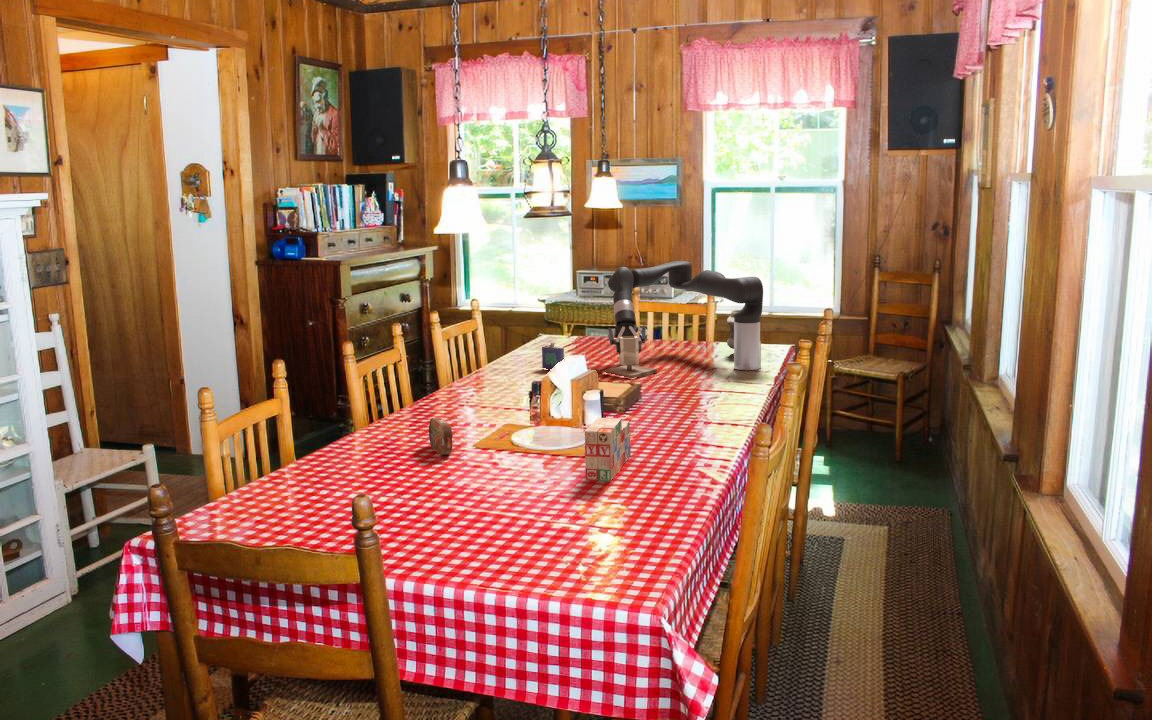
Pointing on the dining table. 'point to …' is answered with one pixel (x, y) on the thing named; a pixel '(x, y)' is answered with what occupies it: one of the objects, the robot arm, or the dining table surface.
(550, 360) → the flask
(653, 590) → the dining table surface
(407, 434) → the dining table surface
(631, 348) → the tan upright block
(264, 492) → the dining table surface
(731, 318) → the apothecary jar
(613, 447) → the stack of blocks
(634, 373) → the post base
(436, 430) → the tin
